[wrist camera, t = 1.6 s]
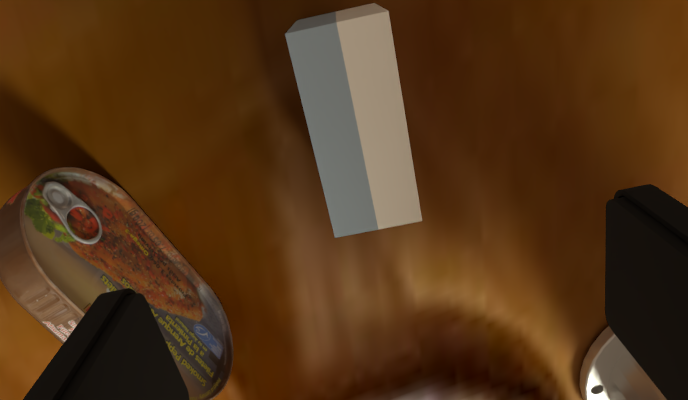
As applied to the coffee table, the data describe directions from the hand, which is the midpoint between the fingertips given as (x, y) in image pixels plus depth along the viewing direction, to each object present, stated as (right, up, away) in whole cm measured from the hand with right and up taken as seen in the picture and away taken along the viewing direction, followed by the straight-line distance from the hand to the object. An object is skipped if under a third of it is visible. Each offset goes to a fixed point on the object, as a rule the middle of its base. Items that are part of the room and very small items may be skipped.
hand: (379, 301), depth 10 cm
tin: (-12, -1, +21) cm, 24 cm away
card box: (0, +8, +17) cm, 19 cm away
